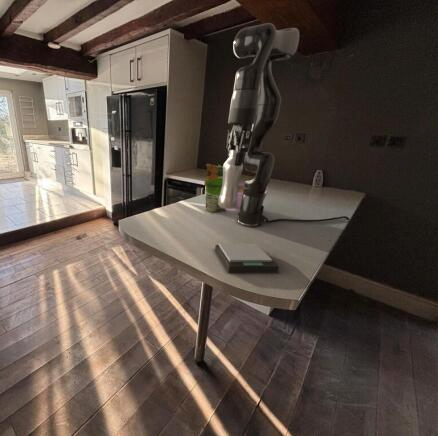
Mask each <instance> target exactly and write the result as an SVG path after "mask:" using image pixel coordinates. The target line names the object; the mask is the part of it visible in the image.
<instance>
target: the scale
mask: <svg viewBox="0 0 438 436" xmlns="http://www.w3.org/2000/svg"><path fill="white" fill-rule="evenodd" d="M214 247H215V248H214V251H215V253H216V255H217V257H218V258H219V260H220V261H221V262H222V264H223V266H224V268H225V270H226V272H227V273H229V274H247V273H249V274H253V273H254V274H255V273H256V274H259V273H260V274H262V273H263V274H266V273H267V274H273V273H274V274H275V273H276V274H278V272H279V268H280V266H279V264H278V263H276V262H275V261H274V259H273V258H272V257H271V256H270V255H268V253H267V252H266V251H264V249H263V248H262V247H261V246H260V245H259V244H258V243H218V244H215V246H214Z"/></svg>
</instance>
